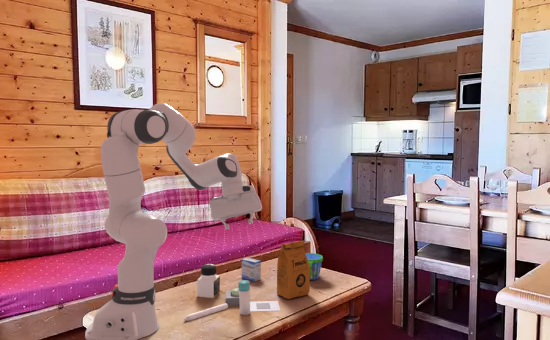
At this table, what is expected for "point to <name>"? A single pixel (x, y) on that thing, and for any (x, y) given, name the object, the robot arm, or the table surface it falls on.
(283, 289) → the coffee package
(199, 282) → the medicine bottle
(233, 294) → the button
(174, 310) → the table surface
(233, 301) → the button housing
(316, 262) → the snack cup
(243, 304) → the fat marker
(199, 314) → the marker
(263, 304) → the drawing sheet
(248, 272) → the medicine box
